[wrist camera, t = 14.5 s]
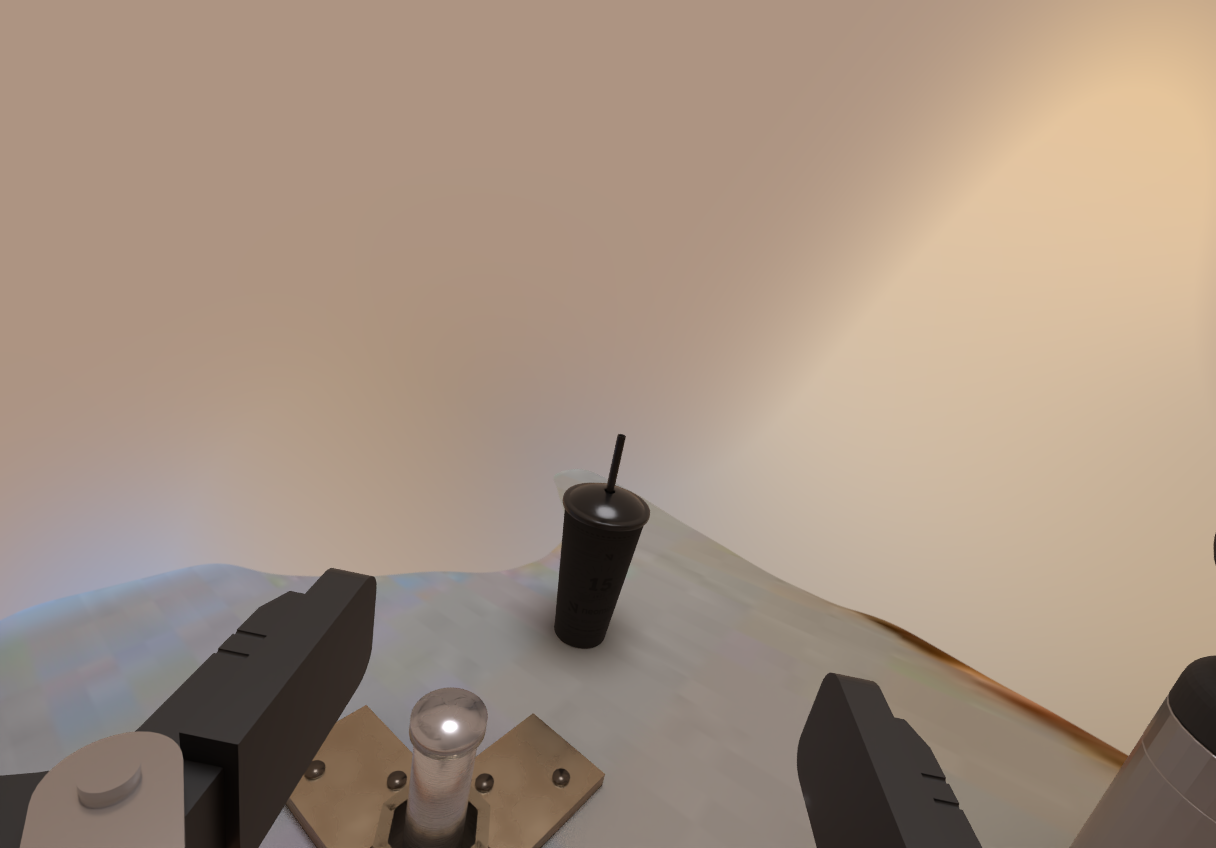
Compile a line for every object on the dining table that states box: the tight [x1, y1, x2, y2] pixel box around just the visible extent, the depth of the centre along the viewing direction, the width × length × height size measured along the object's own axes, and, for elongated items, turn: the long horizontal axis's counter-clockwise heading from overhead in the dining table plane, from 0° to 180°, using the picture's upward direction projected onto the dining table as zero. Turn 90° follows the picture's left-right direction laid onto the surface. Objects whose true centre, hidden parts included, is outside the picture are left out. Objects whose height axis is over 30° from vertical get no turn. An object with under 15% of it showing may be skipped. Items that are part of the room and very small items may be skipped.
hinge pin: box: [402, 688, 488, 848], centre depth 33 cm, size 4×4×12 cm
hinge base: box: [286, 705, 605, 848], centre depth 40 cm, size 16×16×4 cm
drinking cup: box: [555, 434, 650, 648], centre depth 54 cm, size 8×8×20 cm
